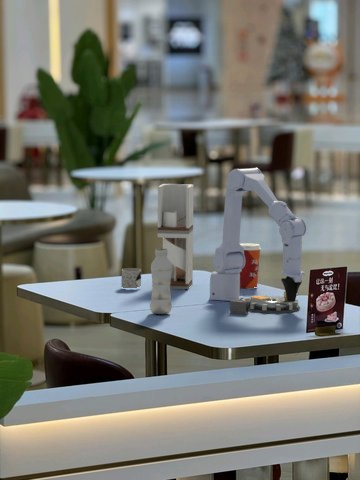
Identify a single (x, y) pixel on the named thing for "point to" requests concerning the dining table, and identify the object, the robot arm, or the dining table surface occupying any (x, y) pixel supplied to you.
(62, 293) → the dining table surface
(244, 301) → the link block
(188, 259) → the display case
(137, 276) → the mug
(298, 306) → the sprocket mat
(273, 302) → the sprocket
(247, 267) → the coffee cup
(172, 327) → the dining table surface
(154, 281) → the plastic bottle
